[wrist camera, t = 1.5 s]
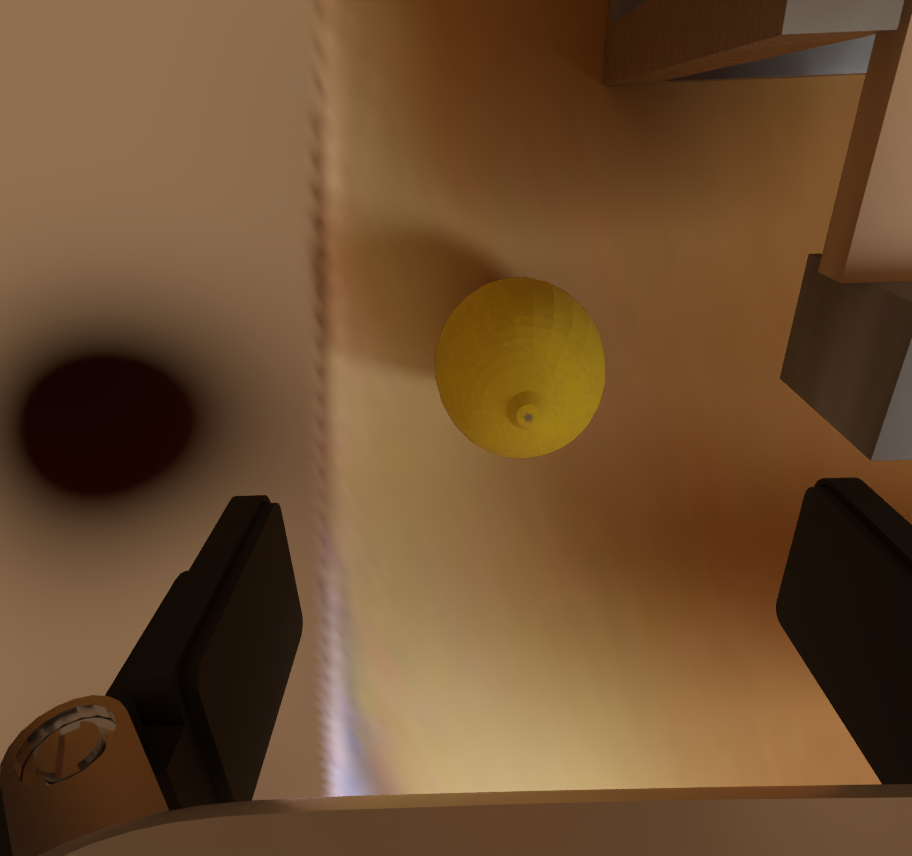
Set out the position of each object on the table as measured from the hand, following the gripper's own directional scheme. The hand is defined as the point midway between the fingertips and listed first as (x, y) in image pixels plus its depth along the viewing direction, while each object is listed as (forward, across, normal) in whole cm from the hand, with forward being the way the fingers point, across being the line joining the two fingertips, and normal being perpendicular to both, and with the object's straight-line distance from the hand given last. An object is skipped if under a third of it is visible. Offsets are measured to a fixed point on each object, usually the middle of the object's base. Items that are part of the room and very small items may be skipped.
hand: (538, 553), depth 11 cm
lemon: (+14, -1, 0) cm, 14 cm away
